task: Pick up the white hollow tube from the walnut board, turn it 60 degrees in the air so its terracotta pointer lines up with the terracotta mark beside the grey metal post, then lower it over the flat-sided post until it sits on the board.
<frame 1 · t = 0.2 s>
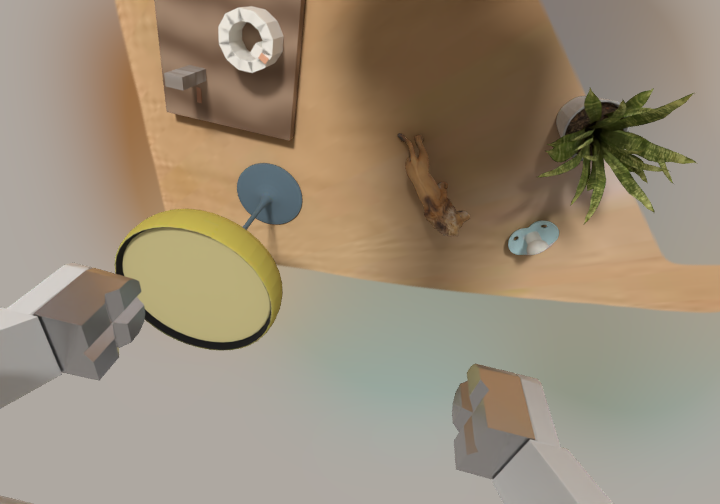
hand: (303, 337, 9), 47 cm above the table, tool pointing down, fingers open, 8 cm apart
white hollow tube: (257, 38, 47), point 2 cm above the table, touching board
board: (233, 54, 50), on the table
pacifier: (532, 235, 60), on the table
lion figurine: (431, 173, 56), on the table
cocktail glass: (270, 194, 62), on the table
house plant: (567, 124, 50), on the table
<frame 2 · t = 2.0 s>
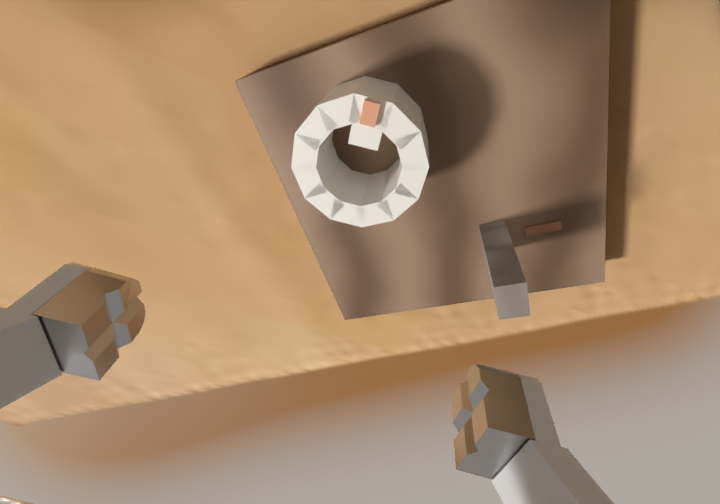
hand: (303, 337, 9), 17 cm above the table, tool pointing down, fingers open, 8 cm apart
white hollow tube: (368, 139, 21), point 2 cm above the table, touching board
board: (435, 177, 24), on the table
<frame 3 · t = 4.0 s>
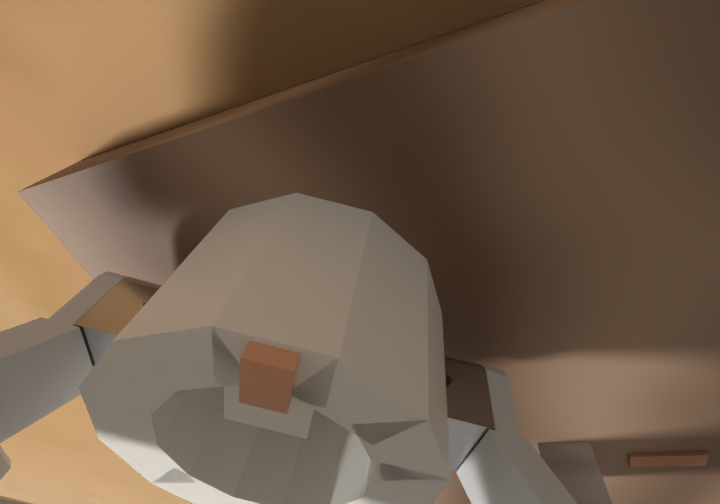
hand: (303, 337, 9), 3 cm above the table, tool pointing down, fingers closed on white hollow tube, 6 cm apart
white hollow tube: (314, 306, 10), point 2 cm above the table, touching board, gripper
board: (453, 340, 13), on the table
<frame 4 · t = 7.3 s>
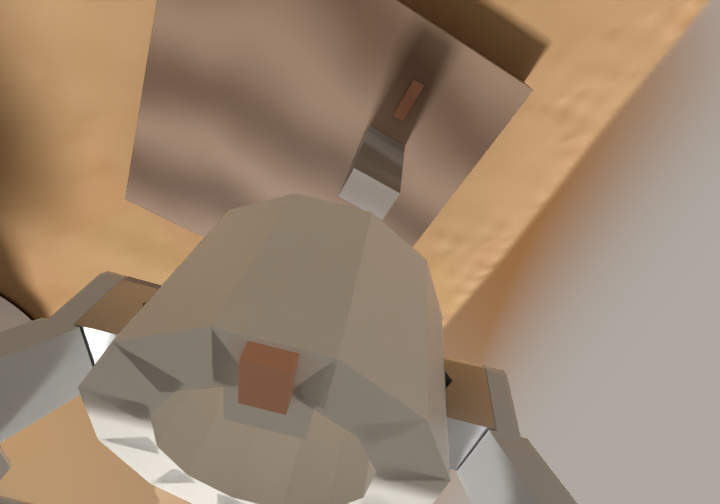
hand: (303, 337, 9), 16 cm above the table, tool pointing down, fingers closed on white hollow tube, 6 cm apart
white hollow tube: (314, 306, 10), point 15 cm above the table, touching gripper
board: (305, 142, 24), on the table
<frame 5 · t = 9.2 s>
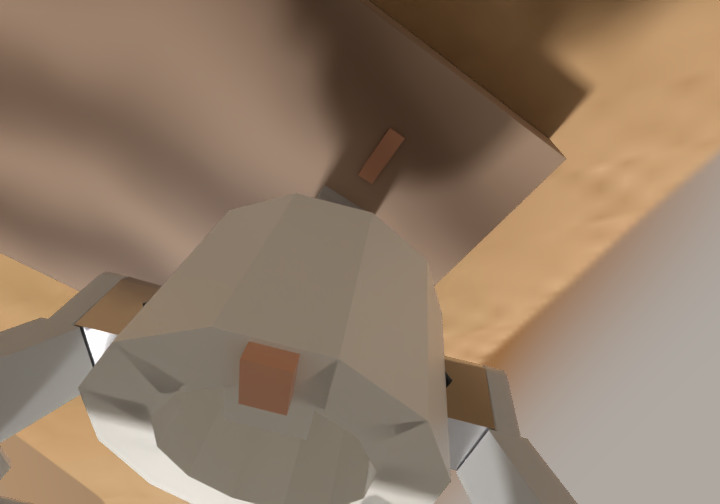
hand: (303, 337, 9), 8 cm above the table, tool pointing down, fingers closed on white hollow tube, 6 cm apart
white hollow tube: (314, 307, 10), point 7 cm above the table, touching gripper
board: (240, 190, 17), on the table
when the fingers open (5 cm above the table, at t = 10.9 s): white hollow tube drops 1 cm, resting on board.
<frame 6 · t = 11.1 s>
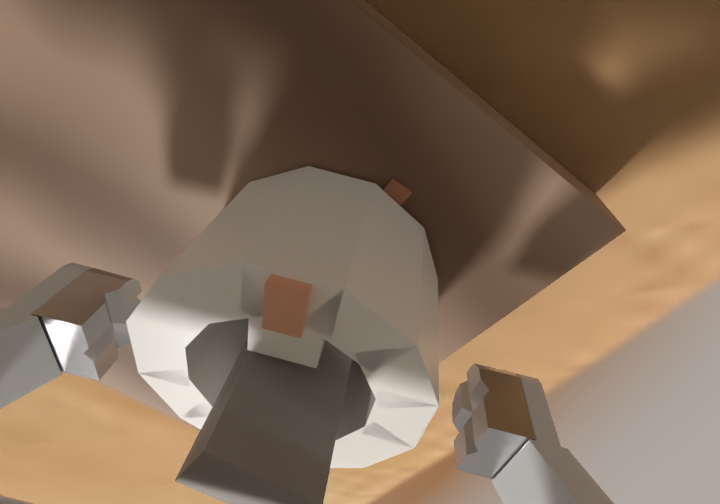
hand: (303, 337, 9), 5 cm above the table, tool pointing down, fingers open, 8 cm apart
white hollow tube: (323, 272, 11), point 2 cm above the table, touching board
board: (202, 231, 14), on the table
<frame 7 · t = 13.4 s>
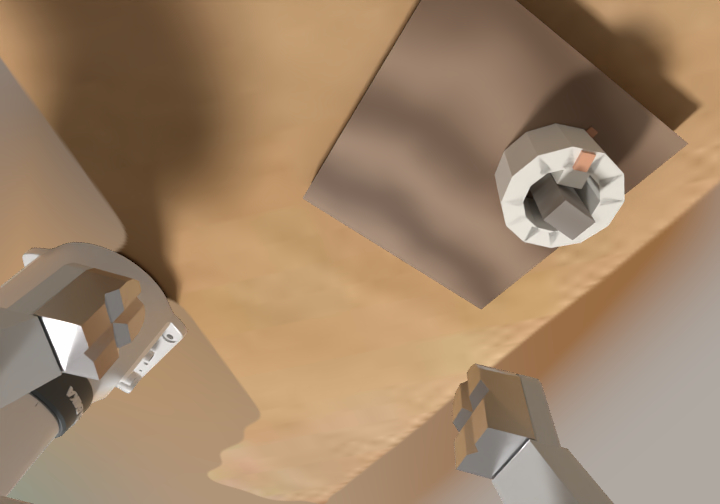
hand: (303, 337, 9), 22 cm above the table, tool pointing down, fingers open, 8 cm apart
white hollow tube: (546, 173, 25), point 2 cm above the table, touching board
board: (468, 163, 28), on the table
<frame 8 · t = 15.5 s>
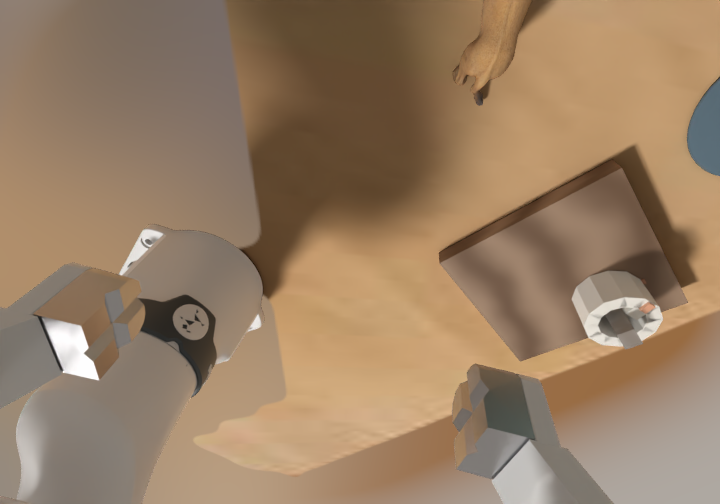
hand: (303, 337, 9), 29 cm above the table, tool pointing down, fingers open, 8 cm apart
white hollow tube: (606, 295, 40), point 2 cm above the table, touching board
board: (556, 271, 41), on the table
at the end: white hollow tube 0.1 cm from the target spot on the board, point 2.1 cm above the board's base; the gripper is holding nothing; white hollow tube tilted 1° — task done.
